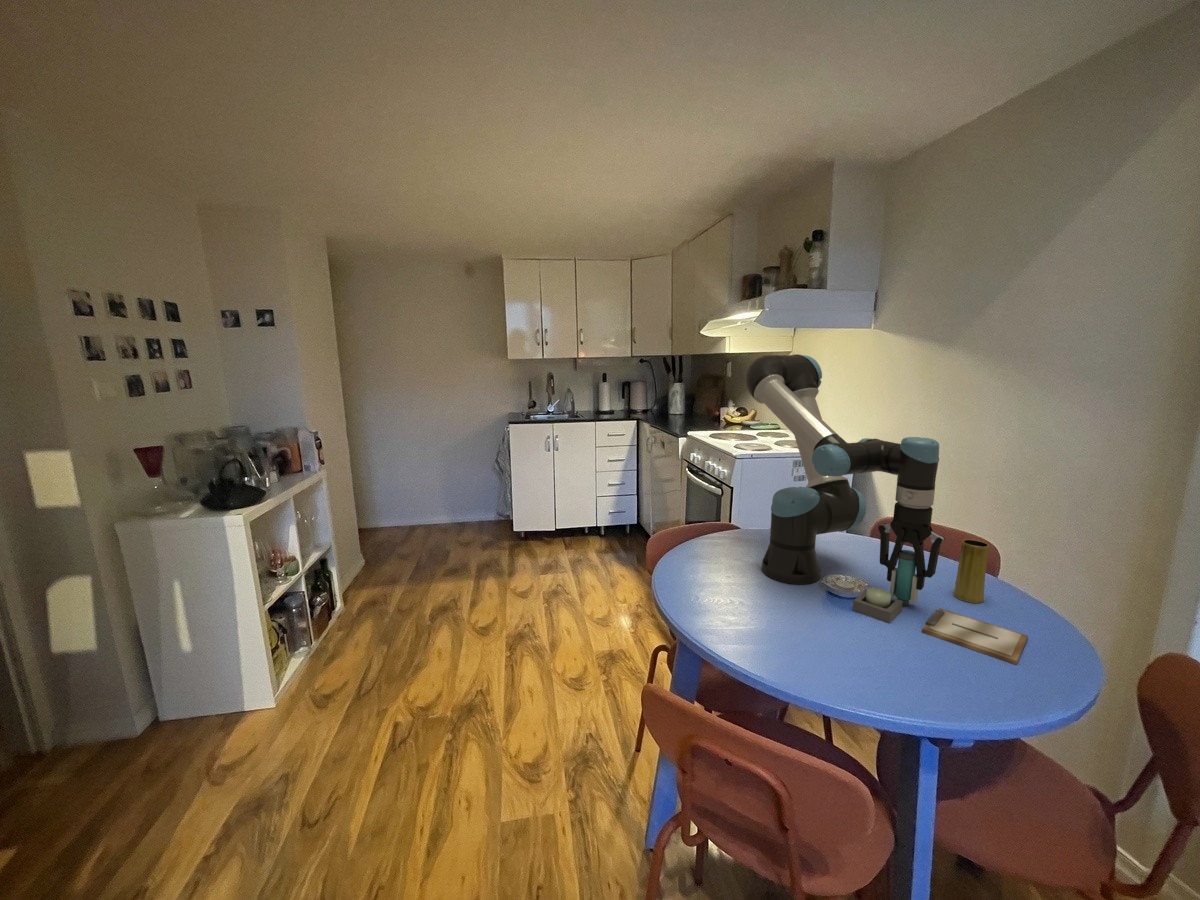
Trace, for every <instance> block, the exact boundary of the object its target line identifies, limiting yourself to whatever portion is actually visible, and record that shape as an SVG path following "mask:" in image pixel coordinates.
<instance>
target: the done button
mask: <svg viewBox="0 0 1200 900" xmlns="http://www.w3.org/2000/svg"><path fill="white" fill-rule="evenodd" d="M866 590H867V593H866V602H867V603H870V604H873V605H876V606H879V607H882V608H885V609H887V608H888V607H889V606H890V601H891V597H892V596H891V593H890V590H889V591H888V590H887V589H884V588H880V587H873V586H872V587H868V588H866Z"/></svg>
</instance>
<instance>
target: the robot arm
mask: <svg viewBox="0 0 1200 900" xmlns="http://www.w3.org/2000/svg"><path fill="white" fill-rule="evenodd" d="M821 379H823V371H822V368H821V365H820V364H819V363H818V361H817V360H816V359H815V358H813V357H812V356H809V355H806V354H805V355H802V354H797V353H796V354H792V355H791V354H790V355H789V354H788V355H787V354H786V355H785V354H783V355H781V354H780V355H779V354H777V355H774V354H773V355H772V354H769V355H768V354H767V355H763V356H759V357H757V358H756V359H755V360H753V361H752V362H751V363H750V364H749V365H748V368H747V369H746V372H745V377H744V381H745V387H746V389H747V391H748V393H749V394H750V396H752V398H753V399H754V400H755V401H756V402H757V403H759V404H764V405H765V406H766V407H767V408H768V409H769V410H770V411H771V413H773V414H774V415H775V417H777V418H778V420H780V422H781V423H782V424H783V425H784V426H785V427H786V428H787V429H788V430H789V431H790V432H791V434H793V436H794V439H795V443H796V446H797V448H798V452H799V456H800V458H801V462H802V465H803V468H804V471H805V476H806V480H807V485H806V486H798V487H797V486H790V487H785V488H782V489H778V490H777V491H776V492H775V493H774V494H773V496H772V500H771V506H770V510H771V511H770V514H771V515H770V517H771V518H770V533H769V544H768V547H767V548H766V551H765V554H764V556H763V558H762V561H761V571H762V573H763V574H764V575H765V576H767V577H768V578H770V579H771V580H775V581H778V582H780V583H785V584H790V585H808V584H813V583H815V582H817V581H819V580H820V579H821V566H820V562H819V559H818V558H819V557H818V555H817V552H816V541H817V540H816V539H817V536H818V535H823V534H824V535H825V534H831V533H836V532H844V531H848V530H852V529H855V528H857V527H859V526H860V525H861V523H862V522H863V520H864V518H865V516H866V514H867V504H866V500H865V496H863V494H862V493H861V491H858V489H856V488H854V487H851V485H850V482H849V479H848V478H847V477H845V476H847V475H854V474H855V475H856V474H865V473H866V474H867V473H875V472H881V473H887V474H890V475H894V476H897V478H896V479H897V480H896V487H895V488H896V489H895V490H896V491H895V499H894V500H895V501H896V502H895V503H894V507H893V509H894V510H893V516H892V517H893V518H892V520H891V522H890V523H884V522H883V523H881V524H880V525H878V527H877V528H878V532H879V534H880V542H879V543H880V545H879V564H880V565H882V566H885V567H886V568H887V573H886V580H887V582H890V588H889V592H890V593H891V597H892V598H894V596H895V588H896V579H897V569H898V567H897V565H898V560H899V551H901V550H903V548H904V544H905V543H909V544H911V545H912V548H913V552H914V553H915V562H916V569H915V575H914V576H913V581H912V590H911V599H910V600H909V603H912V604H915V603H916V602H917V600H918V597H919V596H918V595H919V591H922V590H923V588H924V587H925V580H926V578H929V579H930V578H932V577H933V576H934V575H935V574H936V571H937V565H938V560H939V554H940V549H941V545H943V542H944V541H945V540H946V539H945V538H946V537H945V536H944V535H939V534H937V533H935V532H933V531H934V530H933V527H932V518H933V510H934V509H933V507H932V506H934V501H935V494H936V493H935V490H936V479H937V475H938V474H937V472H938V466H939V462H940V443H939V441H938V440H936V439H933V438H929V437H918V436H907V437H903V438H902V439H901V442H900V443H898V442H893V441H887V440H883V439H879V438H870V437H869V438H867V437H864V438H861V439H860V440H858V441H857V442H847V441H846V440H844V438H843V437H841V435H839V434H838V433H837V432H836V431H835V430H834V429H833V428H831V426H830V425H829V424H828V423H827V422H825V421H824V420H823V418H822V415H821V411H820V409H819V405H818V401H817V399H816V397H817V396H818V394H819V392H820V390H819V388H820V386H821V383H822V380H821ZM891 531H892V532H893V534H895V536H896V539H895V542H894V546H893V548H892V549H893V550H892V552H891V555H890V556H889V554H890V533H891ZM928 538H930V543H931V546H930V553H929V557H928V563H927V567H926V560H925V551H924V541H926V539H928ZM889 557H890V558H889Z"/></svg>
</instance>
